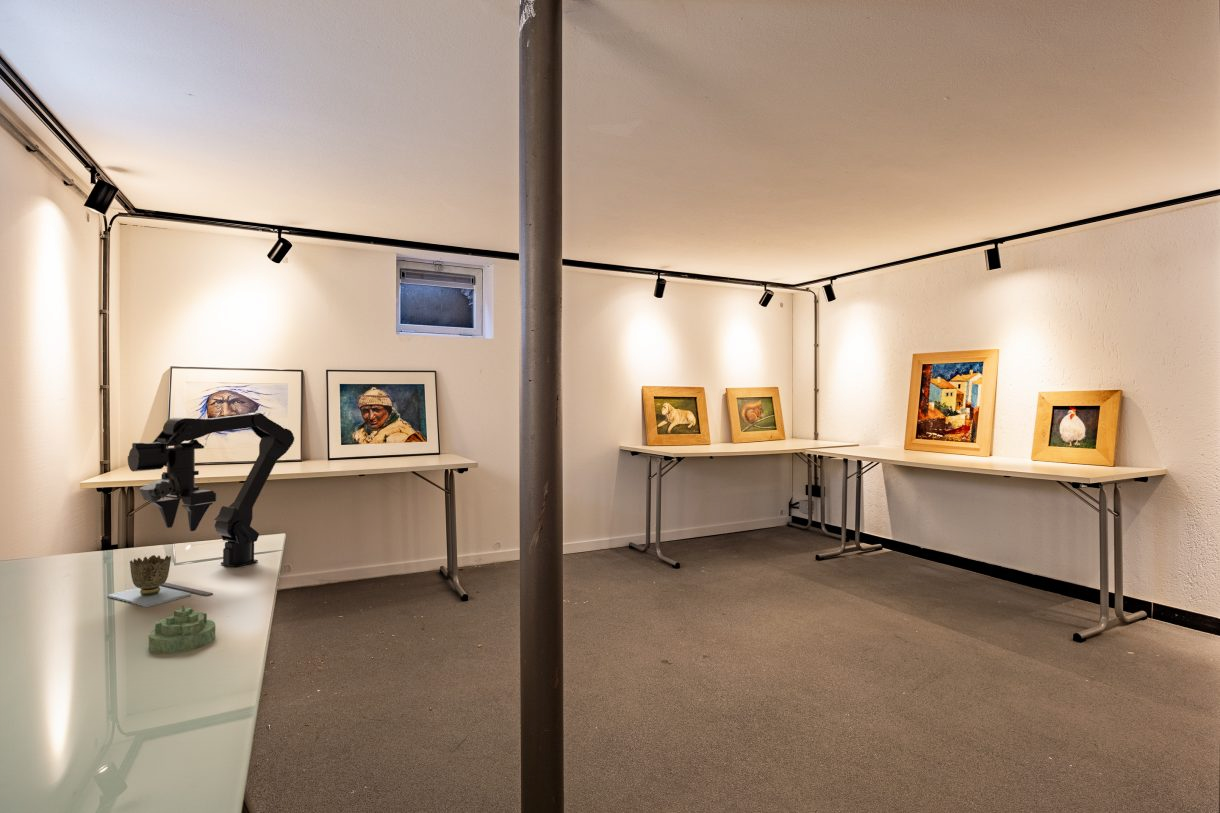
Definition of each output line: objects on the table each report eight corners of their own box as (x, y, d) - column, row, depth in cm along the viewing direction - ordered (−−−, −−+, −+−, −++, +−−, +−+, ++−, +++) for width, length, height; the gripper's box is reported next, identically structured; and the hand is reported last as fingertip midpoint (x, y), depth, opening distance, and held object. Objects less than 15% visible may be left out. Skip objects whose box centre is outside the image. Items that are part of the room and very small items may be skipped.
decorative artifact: (166, 634, 115) (136, 656, 105) (167, 597, 115) (136, 615, 105) (224, 631, 117) (200, 652, 107) (224, 595, 117) (200, 612, 107)
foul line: (155, 581, 147) (155, 580, 147) (212, 594, 138) (212, 593, 138) (148, 583, 146) (148, 581, 146) (206, 596, 137) (206, 594, 137)
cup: (178, 590, 140) (179, 555, 140) (150, 600, 132) (151, 563, 132) (149, 588, 140) (150, 554, 140) (120, 598, 133) (120, 562, 133)
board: (151, 586, 144) (151, 584, 144) (190, 595, 137) (190, 593, 137) (107, 597, 135) (107, 594, 135) (147, 607, 129) (147, 605, 129)
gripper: (122, 468, 148) (122, 532, 148) (170, 473, 141) (170, 539, 141) (170, 464, 158) (170, 523, 159) (217, 468, 151) (217, 530, 151)
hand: (181, 529), depth 152 cm, fingers open, 9 cm apart
